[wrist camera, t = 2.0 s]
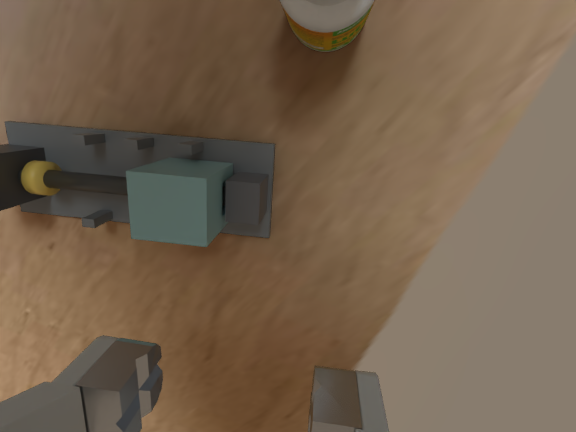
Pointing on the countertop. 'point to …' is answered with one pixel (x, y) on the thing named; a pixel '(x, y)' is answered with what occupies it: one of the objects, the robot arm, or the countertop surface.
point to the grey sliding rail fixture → (124, 172)
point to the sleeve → (177, 200)
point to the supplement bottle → (326, 21)
